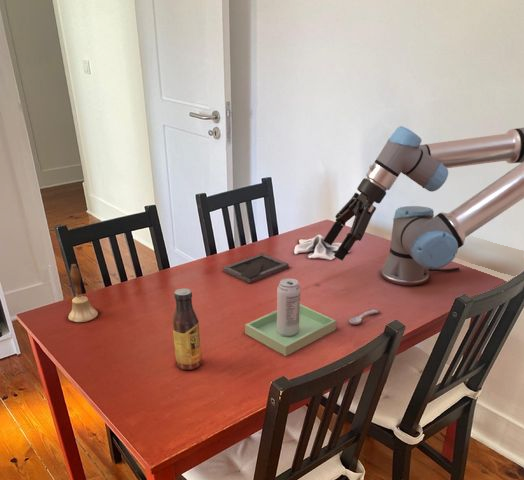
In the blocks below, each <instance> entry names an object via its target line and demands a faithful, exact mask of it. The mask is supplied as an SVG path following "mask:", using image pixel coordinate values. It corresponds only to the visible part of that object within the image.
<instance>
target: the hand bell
mask: <svg viewBox="0 0 524 480" xmlns="http://www.w3.org/2000/svg"><path fill="white" fill-rule="evenodd" d="M70 278H71V281H72V283H73V285H74V290H75V296H74V297H73V298H72V300H71V311H70V312H69V314H68V316H67V317H68V321H71V322H74V323H86V322H90V321H92V320H94V319H96V318H97V317H98V315H99V312H98V311H97V310H96V309H95V308H94V307H93V306H92V305H91V303H90V300H89V298H88V297H87V296H86V295H83V291H82V287H81V282H82V275H81V272H80V270H79V268H78V266H77V264H76V263H71V264H70Z"/></svg>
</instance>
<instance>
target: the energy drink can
mask: <svg viewBox="0 0 524 480" xmlns="http://www.w3.org/2000/svg"><path fill="white" fill-rule="evenodd" d="M300 304H301V286H300V283H299V281H298V280H297V279H296V278H291V277H290V278H283V279H281V280H279V284H278V285H277V287H276V310H277V331H278V332H279V334H280V335H281V336H284V337H292V336H295V335H296V334H297V332H298V331H299V316H300Z"/></svg>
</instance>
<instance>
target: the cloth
mask: <svg viewBox="0 0 524 480" xmlns="http://www.w3.org/2000/svg"><path fill="white" fill-rule="evenodd" d="M324 238H325V236H323V235H322V234H317V235H316V236H314V237H311V238H309V239H298V243H299V244H297V245H295V246H294V251H293V252H294V255H298V254H304V253H305V254H307V253H308V255H307V258H308V259H319V260H329V261H332V260H334V259H335V258H336V257H335V256H334V254H335V253H336V251H337V250H338V248H339V247H340V245H341V244H342V242H333V243H332V245H329V244H328V243H326V242H324V241H323V240H324ZM350 252H351V251H350V250H349V252H348V253H350Z"/></svg>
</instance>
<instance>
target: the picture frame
mask: <svg viewBox="0 0 524 480" xmlns="http://www.w3.org/2000/svg"><path fill="white" fill-rule="evenodd" d="M222 269H223V273H226V274H228V275H230V276H232V277H234V278H237V279H239V280H241V281H243V282H245V283H247V284H253V283H255V282H258V281H260V280H262V279H265V278H267V277H269V276H272V275H275V274H277V273H280V272H283V271H285V270H287V269H289V263H287V262H285V261H282V260H280V259H278V258H275V257H272V256H270V255H268V254H265V253H263V252H262V253H259V254H256V255H254V256H253V255H252V256H251V257H248V258H245V259H242V260H239V261H236V262H234V263H232V264H229V265H225V266H223V267H222Z"/></svg>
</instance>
